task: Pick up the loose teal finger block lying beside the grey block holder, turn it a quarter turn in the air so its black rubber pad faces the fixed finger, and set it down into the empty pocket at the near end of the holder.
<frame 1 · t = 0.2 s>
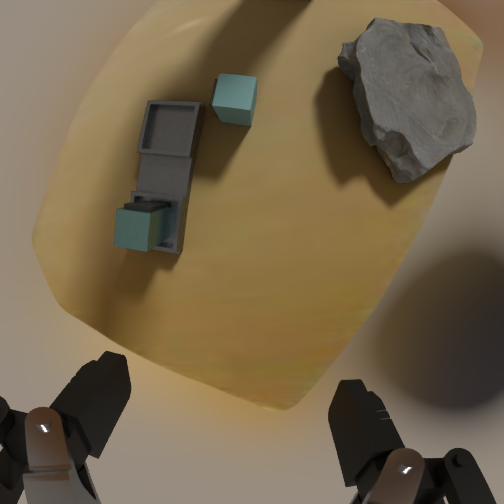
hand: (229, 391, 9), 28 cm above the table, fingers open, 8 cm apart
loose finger: (238, 110, 32), on the table
stone: (405, 99, 32), on the table
grey block holder: (167, 174, 34), on the table
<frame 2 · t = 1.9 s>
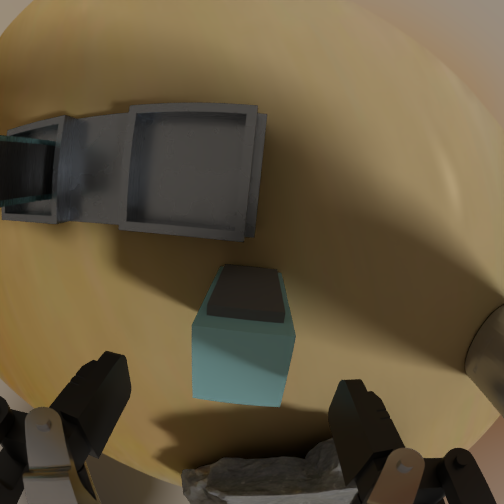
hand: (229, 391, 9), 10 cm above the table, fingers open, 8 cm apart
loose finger: (247, 297, 18), on the table
stone: (299, 474, 24), on the table
grey block holder: (115, 169, 16), on the table
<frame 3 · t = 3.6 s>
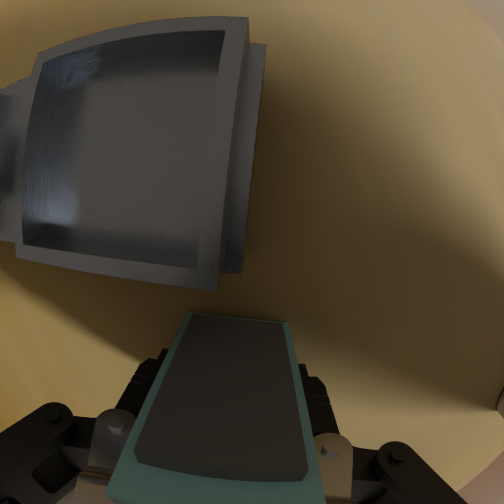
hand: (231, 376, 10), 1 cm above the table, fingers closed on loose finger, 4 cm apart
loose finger: (234, 358, 11), on the table, touching gripper
grey block holder: (37, 158, 9), on the table
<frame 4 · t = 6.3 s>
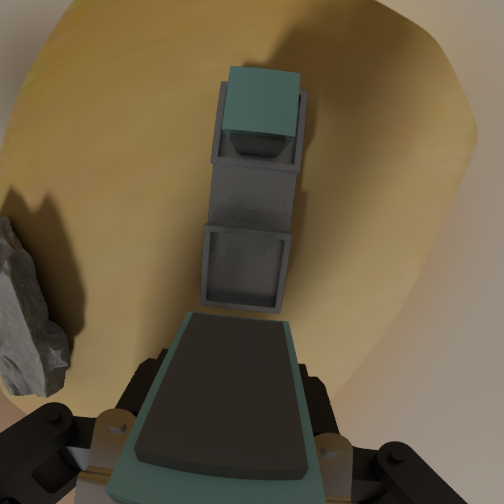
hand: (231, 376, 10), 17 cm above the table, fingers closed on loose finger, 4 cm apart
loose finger: (234, 357, 11), point 15 cm above the table, touching gripper
stone: (22, 308, 29), on the table
grey block holder: (252, 196, 24), on the table
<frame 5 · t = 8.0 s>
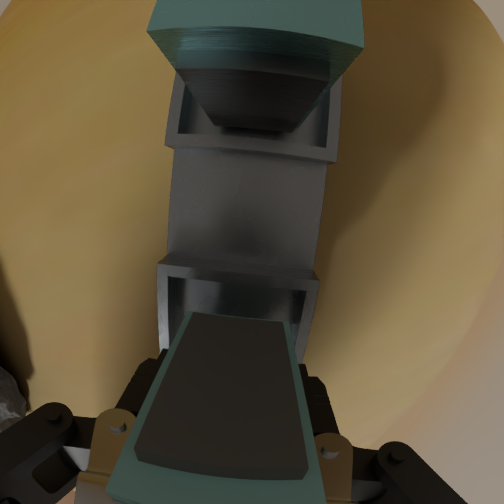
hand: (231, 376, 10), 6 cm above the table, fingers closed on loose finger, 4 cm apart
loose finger: (234, 357, 11), point 5 cm above the table, touching gripper
grey block holder: (246, 206, 14), on the table
when the fingers open (4 cm above the table, at t = 9.2 s): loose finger stays where it is, resting on grey block holder.
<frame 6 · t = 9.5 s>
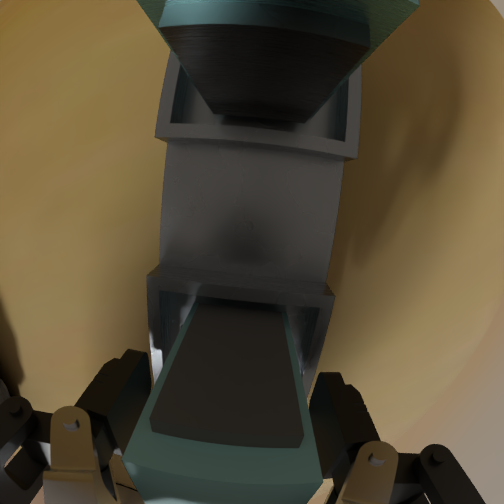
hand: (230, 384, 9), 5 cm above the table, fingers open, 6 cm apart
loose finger: (236, 346, 12), point 2 cm above the table, touching grey block holder
grey block holder: (249, 208, 12), on the table
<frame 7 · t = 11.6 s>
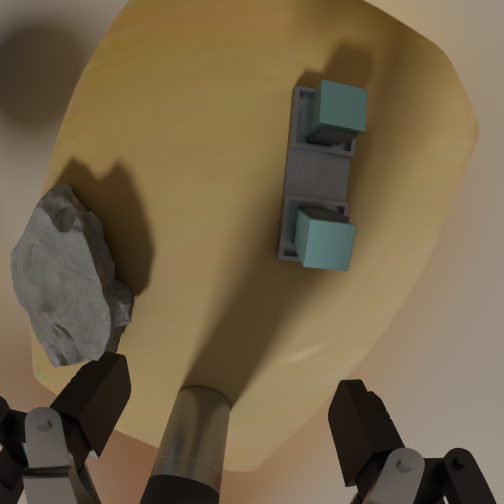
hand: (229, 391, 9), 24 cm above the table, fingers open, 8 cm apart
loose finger: (312, 229, 30), point 2 cm above the table, touching grey block holder
stone: (74, 276, 35), on the table
grey block holder: (314, 175, 30), on the table
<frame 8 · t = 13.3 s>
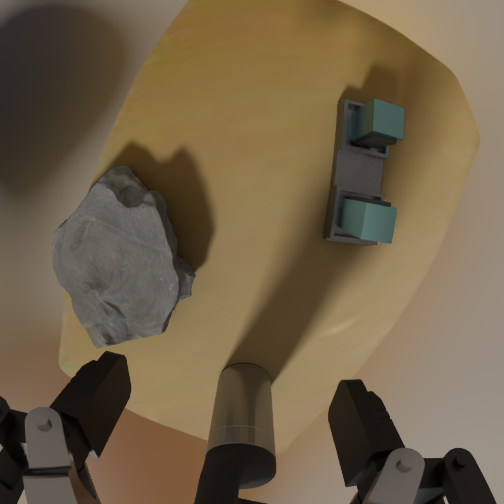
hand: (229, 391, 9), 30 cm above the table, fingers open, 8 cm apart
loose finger: (354, 215, 35), point 2 cm above the table, touching grey block holder
stone: (123, 256, 40), on the table
grey block holder: (355, 172, 36), on the table
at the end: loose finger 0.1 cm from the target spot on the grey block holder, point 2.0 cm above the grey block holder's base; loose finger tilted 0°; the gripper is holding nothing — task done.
